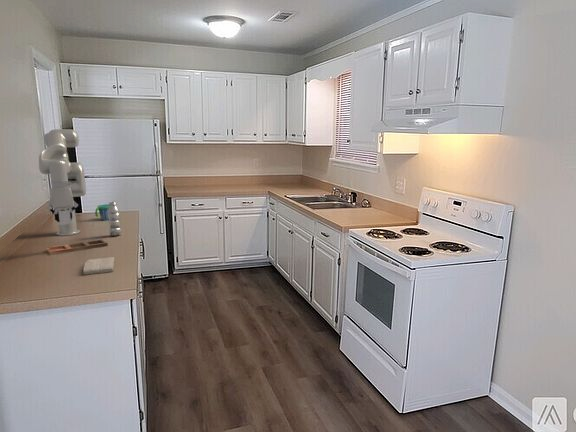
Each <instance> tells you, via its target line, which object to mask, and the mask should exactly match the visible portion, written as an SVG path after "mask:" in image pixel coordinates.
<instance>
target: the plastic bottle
mask: <svg viewBox="0 0 576 432" xmlns="http://www.w3.org/2000/svg"><path fill="white" fill-rule="evenodd" d="M108 204H109V206H110V207H109V208H108V210H107V213H108V217H109V220H108V222H109V223H108V224H109V229H108V232H109V235H110V236H112V237H113V236H114V237H117V236H120V235H121V234H122V228H121V224H120V210H119V208H118V207H117V202H116V201H110V202H108Z"/></svg>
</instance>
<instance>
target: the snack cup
mask: <svg viewBox="0 0 576 432" xmlns="http://www.w3.org/2000/svg"><path fill="white" fill-rule="evenodd" d="M109 207H110V206H109V203H107V204H106V203H105V204H100V205H97V208H96V209H95V211H94V213H95V215H94V216H95V217H100V220H101V221H109V217H108V213H107V210H108V208H109ZM98 213H99V215H98Z"/></svg>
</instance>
